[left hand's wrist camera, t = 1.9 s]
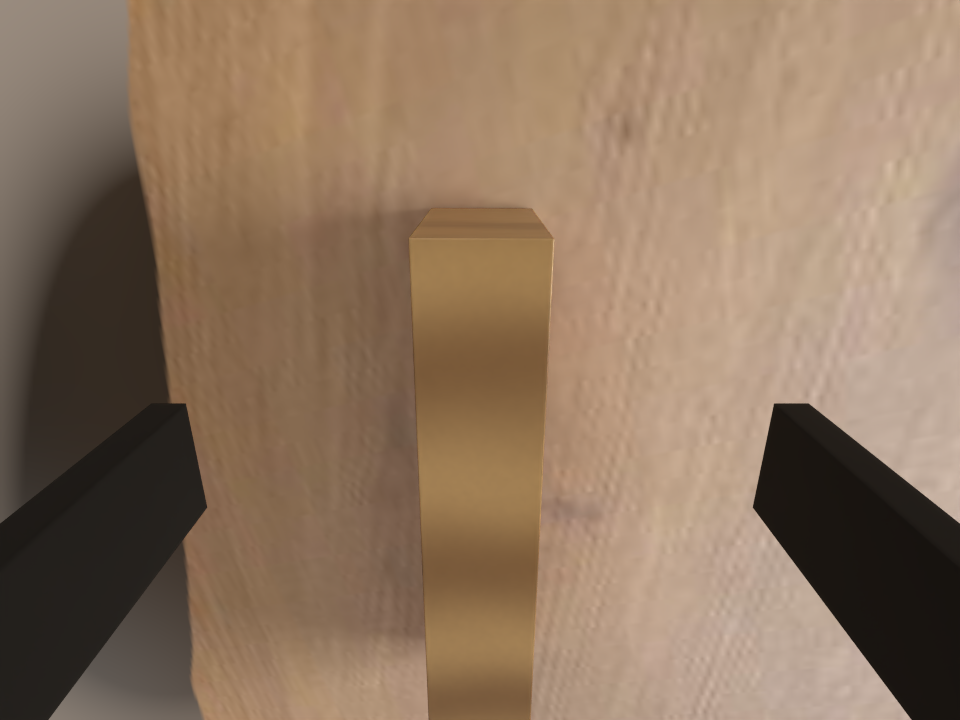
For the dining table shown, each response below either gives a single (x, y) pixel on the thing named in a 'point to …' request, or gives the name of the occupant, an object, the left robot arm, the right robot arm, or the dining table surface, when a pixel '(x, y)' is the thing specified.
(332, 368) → the dining table surface
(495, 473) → the bar
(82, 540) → the left robot arm
